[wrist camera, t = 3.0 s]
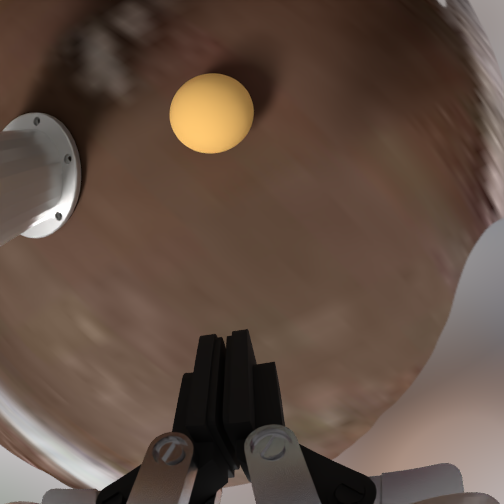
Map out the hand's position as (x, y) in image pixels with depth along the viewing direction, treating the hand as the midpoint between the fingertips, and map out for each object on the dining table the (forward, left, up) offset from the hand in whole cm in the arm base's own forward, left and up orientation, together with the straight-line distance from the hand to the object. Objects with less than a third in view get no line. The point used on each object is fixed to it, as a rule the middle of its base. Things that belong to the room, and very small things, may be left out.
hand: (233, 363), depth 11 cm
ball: (0, +10, -14) cm, 17 cm away
